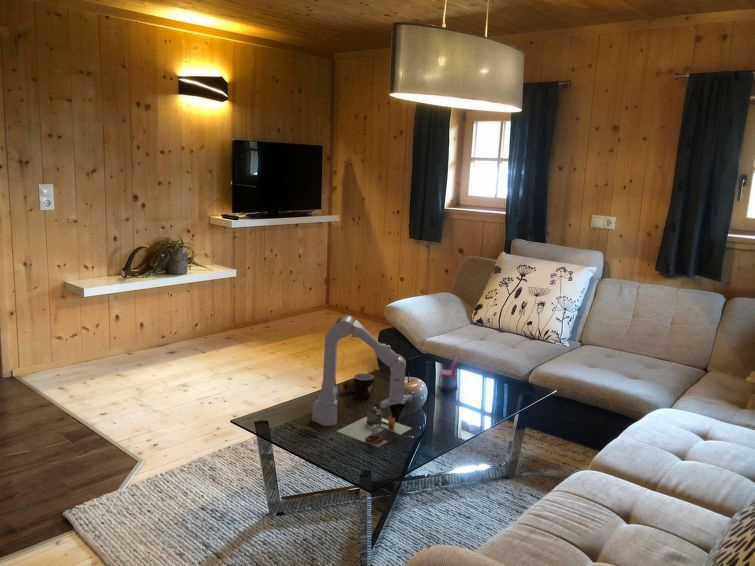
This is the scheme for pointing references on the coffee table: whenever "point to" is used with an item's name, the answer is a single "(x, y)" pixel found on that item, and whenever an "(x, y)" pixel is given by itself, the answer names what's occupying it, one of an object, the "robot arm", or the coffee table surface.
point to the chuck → (374, 416)
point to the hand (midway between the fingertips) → (395, 421)
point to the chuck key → (374, 432)
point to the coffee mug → (363, 385)
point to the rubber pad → (388, 434)
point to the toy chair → (449, 371)
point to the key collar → (375, 442)
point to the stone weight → (352, 385)
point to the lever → (389, 422)
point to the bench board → (363, 430)
